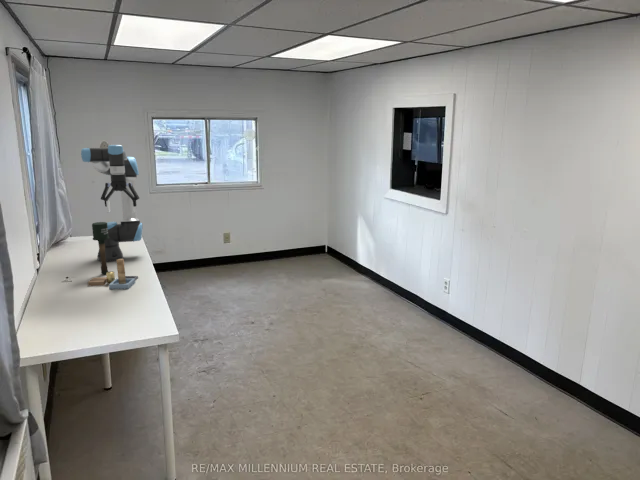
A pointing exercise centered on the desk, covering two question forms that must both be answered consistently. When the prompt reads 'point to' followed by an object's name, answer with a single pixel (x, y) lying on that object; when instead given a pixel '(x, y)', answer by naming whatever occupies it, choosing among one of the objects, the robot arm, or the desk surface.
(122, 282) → the dowel
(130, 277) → the holder
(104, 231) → the stick grenade
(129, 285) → the tray
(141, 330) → the desk surface
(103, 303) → the desk surface
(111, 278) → the cylinder
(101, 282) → the flat cardboard box
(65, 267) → the desk surface
